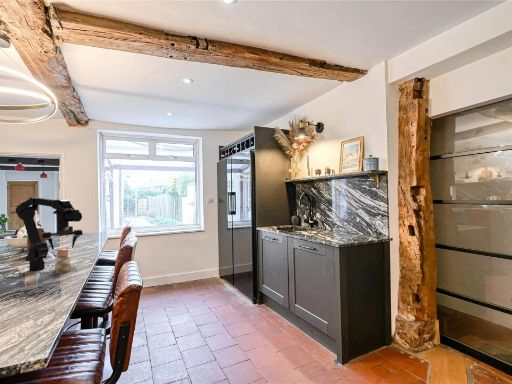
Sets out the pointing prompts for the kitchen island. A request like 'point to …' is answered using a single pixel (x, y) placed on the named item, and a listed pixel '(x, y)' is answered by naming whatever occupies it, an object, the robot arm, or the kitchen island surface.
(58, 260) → the top block
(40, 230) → the block
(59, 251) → the peach rounded cylinder
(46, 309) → the kitchen island surface
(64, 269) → the base block
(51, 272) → the mat
